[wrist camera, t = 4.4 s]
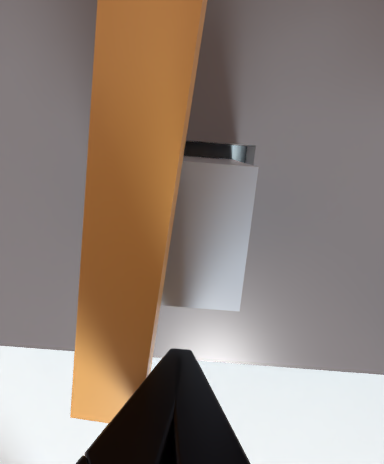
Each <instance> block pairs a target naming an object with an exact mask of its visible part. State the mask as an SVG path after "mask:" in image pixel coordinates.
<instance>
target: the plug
mask: <svg viewBox="0 0 384 464" xmlns="http://www.w3.org/2000/svg"><path fill="white" fill-rule="evenodd" d="M258 168H259V167H257V166H253V165H250V164H247V163H243V162H240V161H237V160H233V159H224V158H211V157H197V156H183V163H182V169H181V176H180V182H179V189H178V195H177V202H176V208H175V215H174V221H173V228H172V234H171V241H170V247H169V254H168V260H167V267H166V273H165V280H164V286H163V293H162V299H161V306H174V307H188V308H201V309H214V310H227V311H240V304H241V296H242V289H243V281H244V274H245V266H246V259H247V251H248V244H249V236H250V229H251V221H252V214H253V206H254V198H255V191H256V183H257V176H258Z"/></svg>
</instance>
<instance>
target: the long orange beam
mask: <svg viewBox="0 0 384 464" xmlns="http://www.w3.org/2000/svg"><path fill="white" fill-rule="evenodd" d="M206 6H207V0H97V16H96V31H95V47H94V62H93V78H92V93H91V108H90V124H89V139H88V155H87V170H86V185H85V201H84V216H83V232H82V247H81V262H80V278H79V293H78V309H77V324H76V340H75V355H74V370H73V386H72V401H71V418H78V419H84V420H91V421H98V422H105V423H110V422H111V420H112V419H113V418H114V417H115V415H116V414H117V413H118V412H119V411H120V409H121V408H122V407H123V406H124V404H125V403H126V402H127V401H128V400H129V398H130V397H131V396H132V395H133V393H134V392H135V391H136V390H137V389H138V387H139V386H140V385H141V384H142V382H143V381H144V380H145V379H146V378H147V376H148V375H149V374H150V371H151V365H152V358H153V352H154V345H155V339H156V332H157V326H158V319H159V312H160V306H161V299H162V293H163V286H164V280H165V273H166V267H167V260H168V254H169V247H170V241H171V234H172V228H173V221H174V215H175V208H176V202H177V195H178V189H179V182H180V176H181V169H182V163H183V156H184V149H185V143H186V136H187V130H188V123H189V117H190V110H191V104H192V97H193V91H194V84H195V78H196V71H197V65H198V58H199V52H200V45H201V39H202V32H203V26H204V19H205V13H206Z"/></svg>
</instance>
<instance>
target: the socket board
mask: <svg viewBox="0 0 384 464" xmlns="http://www.w3.org/2000/svg"><path fill="white" fill-rule="evenodd" d="M96 16H97V0H0V346H13V347H26V348H40V349H53V350H66V351H75V340H76V324H77V309H78V293H79V278H80V262H81V247H82V232H83V216H84V201H85V185H86V170H87V155H88V139H89V124H90V108H91V93H92V78H93V62H94V47H95V31H96ZM186 141H188V142H201V143H214V144H227V145H241V146H247V152H246V161H245V163H247V164H250V165H253V166H257V167H259V168H258V176H257V183H256V191H255V198H254V206H253V214H252V221H251V229H250V236H249V244H248V251H247V259H246V266H245V274H244V281H243V289H242V296H241V304H240V311H227V310H214V309H201V308H188V307H174V306H160V312H159V319H158V326H157V332H156V339H155V345H154V352H153V357H158V358H163V357H164V356H165V354H166V353H167V352H168V351H169V350H170V349H171V348H176V349H188V350H191V351H192V352H193V354H194V356H195V358H196V360H198V361H211V362H224V363H237V364H250V365H263V366H277V367H290V368H303V369H316V370H329V371H342V372H356V373H369V374H382V375H384V0H207V6H206V13H205V19H204V26H203V32H202V39H201V45H200V52H199V58H198V65H197V71H196V78H195V84H194V91H193V97H192V104H191V110H190V117H189V123H188V130H187V136H186Z"/></svg>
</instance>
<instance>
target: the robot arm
mask: <svg viewBox="0 0 384 464" xmlns="http://www.w3.org/2000/svg"><path fill="white" fill-rule="evenodd" d="M76 464H250V462H249V460H248V458H247V456H246V454H245V452H244V450H243V448H242V446H241V444H240V443H239V441H238V439H237V437H236V435H235V433H234V431H233V429H232V427H231V425H230V423H229V421H228V419H227V418H226V416H225V414H224V412H223V410H222V408H221V406H220V404H219V402H218V400H217V398H216V396H215V394H214V392H213V391H212V389H211V387H210V385H209V383H208V381H207V379H206V377H205V375H204V373H203V371H202V369H201V367H200V365H199V364H198V362H197V360H196V358H195V356H194V354H193V352H192V351H191V350H188V349H176V348H171V349H170V350H169V351H168V352H167V353H166V354H165V356H164V357H163V358H162V359H161V360H160V362H159V363H158V364H157V365H156V367H155V368H154V369H153V370H152V371H151V373H150V374H149V375H148V376H147V378H146V379H145V380H144V381H143V382H142V384H141V385H140V386H139V387H138V389H137V390H136V391H135V392H134V393H133V395H132V396H131V397H130V398H129V400H128V401H127V402H126V403H125V404H124V406H123V407H122V408H121V409H120V411H119V412H118V413H117V414H116V415H115V417H114V418H113V419H112V420H111V422H110V423H109V424H108V425H107V426H106V428H105V429H104V430H103V431H102V433H101V434H100V435H99V436H98V437H97V439H96V440H95V441H94V442H93V444H92V445H91V446H90V447H89V448H88V450H87V451H86V452H85V456H82V457H81V458H80V459H79V460H78V462H77V463H76Z"/></svg>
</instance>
